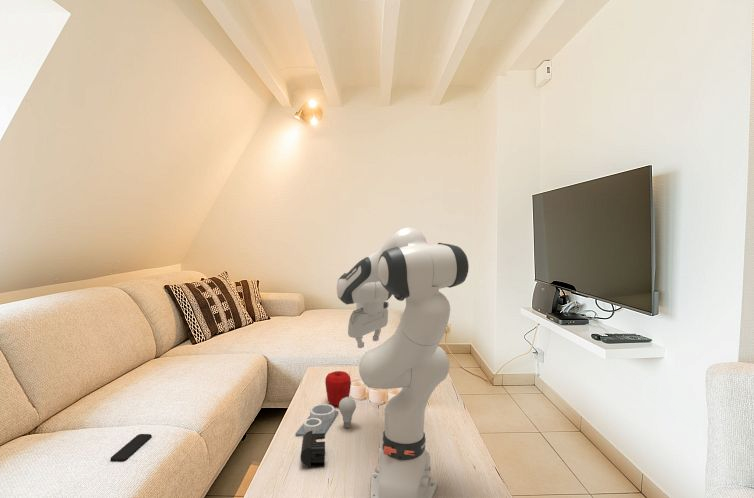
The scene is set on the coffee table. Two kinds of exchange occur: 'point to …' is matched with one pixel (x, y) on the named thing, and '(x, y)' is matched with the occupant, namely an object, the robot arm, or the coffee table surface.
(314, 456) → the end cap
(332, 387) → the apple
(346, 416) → the lightbulb
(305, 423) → the socket board
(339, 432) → the coffee table surface
